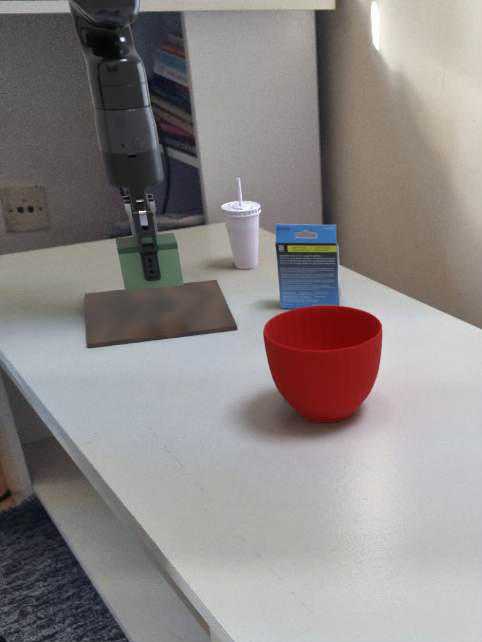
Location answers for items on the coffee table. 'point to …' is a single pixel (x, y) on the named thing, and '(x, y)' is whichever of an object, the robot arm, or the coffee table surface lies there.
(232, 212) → the smoothie
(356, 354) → the ceramic cup
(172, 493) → the coffee table surface
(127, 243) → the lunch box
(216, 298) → the walnut board
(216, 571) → the coffee table surface
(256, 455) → the coffee table surface
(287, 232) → the label tape box
